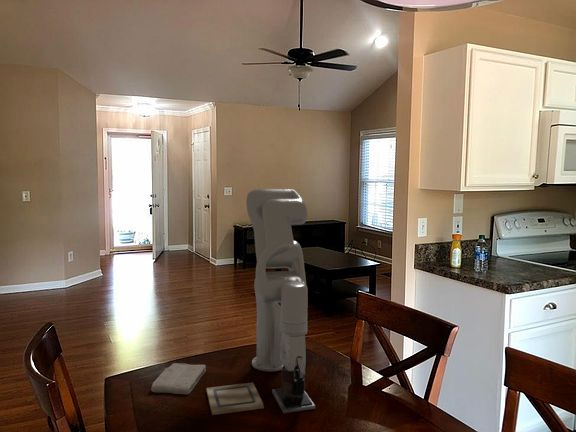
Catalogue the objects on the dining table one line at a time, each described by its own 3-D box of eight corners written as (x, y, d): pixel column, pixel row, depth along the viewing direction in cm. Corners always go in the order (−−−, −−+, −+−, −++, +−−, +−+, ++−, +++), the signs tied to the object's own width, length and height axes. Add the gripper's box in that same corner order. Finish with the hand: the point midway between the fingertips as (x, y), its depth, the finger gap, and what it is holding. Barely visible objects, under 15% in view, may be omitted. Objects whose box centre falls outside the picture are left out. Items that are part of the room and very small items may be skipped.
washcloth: (207, 371, 148) (207, 362, 148) (189, 397, 130) (189, 386, 130) (172, 369, 149) (172, 360, 149) (150, 394, 131) (150, 384, 131)
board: (206, 391, 133) (206, 387, 133) (253, 385, 137) (253, 381, 137) (212, 415, 119) (212, 410, 119) (263, 408, 123) (263, 404, 123)
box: (302, 397, 124) (302, 371, 123) (280, 395, 125) (280, 369, 124) (305, 388, 130) (305, 363, 129) (284, 386, 131) (285, 361, 130)
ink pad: (272, 392, 132) (272, 388, 132) (301, 389, 135) (301, 384, 135) (283, 413, 121) (283, 408, 121) (314, 408, 123) (315, 403, 123)
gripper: (273, 318, 133) (272, 376, 134) (289, 338, 117) (289, 403, 118) (297, 316, 135) (296, 373, 137) (317, 335, 119) (316, 400, 120)
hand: (293, 387), depth 127 cm, fingers closed on box, 8 cm apart
